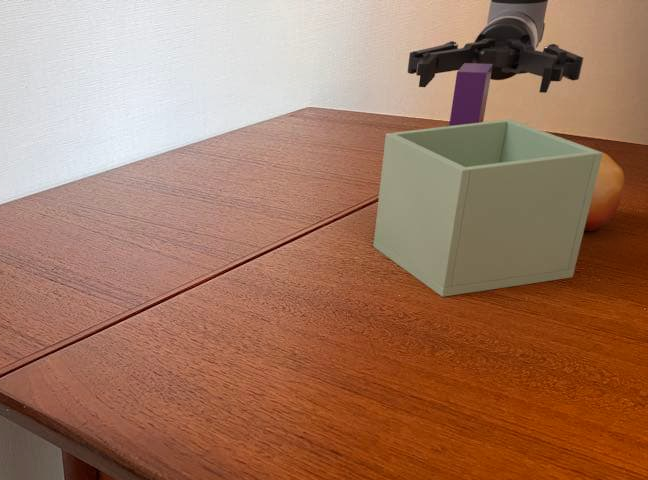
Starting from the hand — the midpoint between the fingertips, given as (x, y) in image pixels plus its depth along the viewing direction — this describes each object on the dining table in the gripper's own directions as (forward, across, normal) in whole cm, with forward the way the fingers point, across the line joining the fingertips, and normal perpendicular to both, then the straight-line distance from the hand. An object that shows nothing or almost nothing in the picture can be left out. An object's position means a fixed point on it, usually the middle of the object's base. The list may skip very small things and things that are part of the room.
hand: (482, 78), depth 102 cm
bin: (+35, -5, -9) cm, 37 cm away
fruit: (+22, -12, -9) cm, 27 cm away
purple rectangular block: (+9, 0, -9) cm, 13 cm away
